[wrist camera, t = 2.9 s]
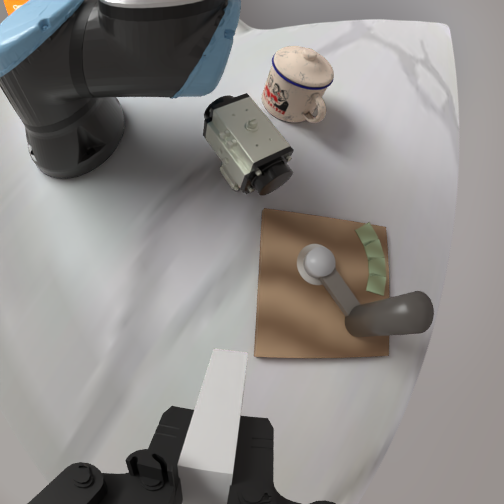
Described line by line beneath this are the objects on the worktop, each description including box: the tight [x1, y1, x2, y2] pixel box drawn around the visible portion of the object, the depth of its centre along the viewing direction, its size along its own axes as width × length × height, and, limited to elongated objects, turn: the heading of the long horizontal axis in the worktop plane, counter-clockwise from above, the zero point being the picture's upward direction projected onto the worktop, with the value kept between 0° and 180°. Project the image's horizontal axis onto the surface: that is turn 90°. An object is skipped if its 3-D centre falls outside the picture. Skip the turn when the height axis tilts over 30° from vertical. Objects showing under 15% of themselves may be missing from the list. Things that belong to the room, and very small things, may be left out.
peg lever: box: [303, 247, 434, 337], centre depth 32 cm, size 13×4×12 cm, turn 36°
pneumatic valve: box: [203, 93, 294, 195], centre depth 35 cm, size 6×12×12 cm, turn 34°
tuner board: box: [254, 208, 389, 358], centre depth 39 cm, size 18×18×1 cm
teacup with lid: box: [262, 46, 334, 123], centre depth 40 cm, size 12×9×12 cm
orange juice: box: [4, 0, 29, 15], centre depth 33 cm, size 8×9×20 cm
